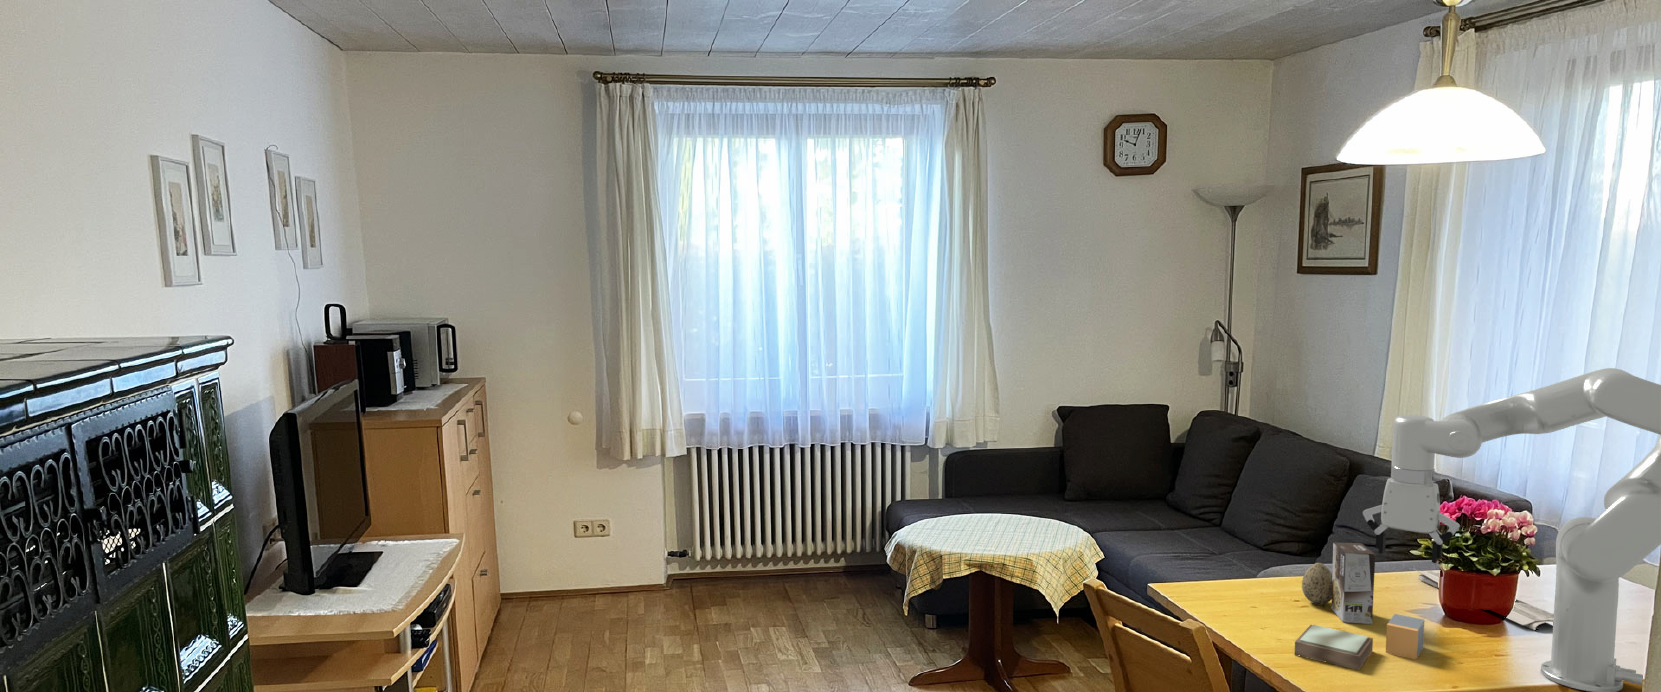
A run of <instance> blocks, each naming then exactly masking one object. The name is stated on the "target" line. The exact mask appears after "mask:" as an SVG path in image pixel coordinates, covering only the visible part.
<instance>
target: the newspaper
mask: <svg viewBox="0 0 1661 692" xmlns="http://www.w3.org/2000/svg"><path fill="white" fill-rule="evenodd" d="M1413 570H1415V571H1416V572H1418V573H1419V574H1418V580H1420V581H1421V582H1422V583H1424V584H1428V585H1430V586H1432V587H1435V588H1437V587H1438V582H1439V571H1440V570H1437V569H1436V570H1425V571H1423V570H1417V569H1415V568H1413ZM1515 599H1516V598H1515ZM1506 619H1508V620H1510V621H1513V622H1515V623H1517V624H1519V625H1520V626H1524V627H1526V628H1529V629H1531V630H1534V631H1535V630H1536V628H1537V627H1538V626H1539V625H1542V624H1545V623H1546V622H1553V620H1554V613H1551V612H1549V611H1546V610H1545V609H1541V608H1538V607H1537V606H1534V605H1531V604H1528V603H1526V602H1524V601H1521V600H1520V599H1519V600H1518V599H1516V601H1515V605H1514V609H1513V610H1512V612H1511V613H1510V614H1509V615H1508V617H1506Z"/></svg>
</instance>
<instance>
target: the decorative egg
mask: <svg viewBox="0 0 1661 692" xmlns="http://www.w3.org/2000/svg"><path fill="white" fill-rule="evenodd" d="M1301 581H1302V582H1301V590H1302V593H1303V595H1304V596H1305V598H1306V599H1307V600H1308V601H1310V602H1311V603H1313V604H1315V605H1326V604H1328V603H1329V602H1332V572H1331V570H1329V568H1328V567H1327V566H1326V565H1325V564H1324V563H1322V562H1315V563H1314V564H1312V565H1311V566H1310V567H1308V569H1307V570H1306V571H1305V573H1304V574H1303V577H1302V580H1301Z"/></svg>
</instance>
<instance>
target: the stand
mask: <svg viewBox="0 0 1661 692" xmlns="http://www.w3.org/2000/svg"><path fill="white" fill-rule="evenodd" d="M1373 643H1374V637H1369V636H1368V635H1363V634H1358V633H1353V632H1350V631H1345V630H1340V629H1339V630H1338V629H1334V628H1330V627H1326V626H1322V625H1318V624H1317V625H1316V624H1310V625H1309V626H1308V627H1307V628H1306V629H1305V630H1304V631H1303V632H1302V633H1301V635H1300V636H1298V637H1297V639H1296V640H1295V641H1294V656H1298V655H1300V656H1299V657H1302V656H1303V657H1302V658H1306V657H1308V658H1307V659H1310V658H1312V659H1311V660H1314V659H1315V660H1316V661H1319V662H1323V661H1326V662H1325V663H1327V662H1328V664H1332V665H1335V666H1340V667H1343V668H1344V667H1345V668H1349V669H1353V670H1357V671H1360V670H1361V668H1362V667H1363V665H1364V664H1365V662H1366V661H1367V660H1368V658H1369V657H1370V655H1371V654H1372V653H1373V649H1374V646H1373Z"/></svg>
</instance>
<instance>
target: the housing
mask: <svg viewBox="0 0 1661 692" xmlns="http://www.w3.org/2000/svg"><path fill="white" fill-rule="evenodd" d="M1424 634H1425V619H1422V618H1419V617H1418V618H1417V617H1412V616H1407V615H1403V614H1397V613H1394V614H1393V615H1392V617H1391V618H1390V619H1389V620H1388V623H1386V635H1385V636H1386V638H1385V640H1386V641H1385V653H1386V654H1390V655H1393V656H1394V655H1395V656H1399V657H1402V658H1403V657H1404V658H1407V659H1410V660H1411V659H1412V660H1417V659H1418V657H1419V656H1420V654H1421V652H1422V650H1423V648H1424V641H1425V640H1424V639H1425V637H1424V636H1425V635H1424Z"/></svg>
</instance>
